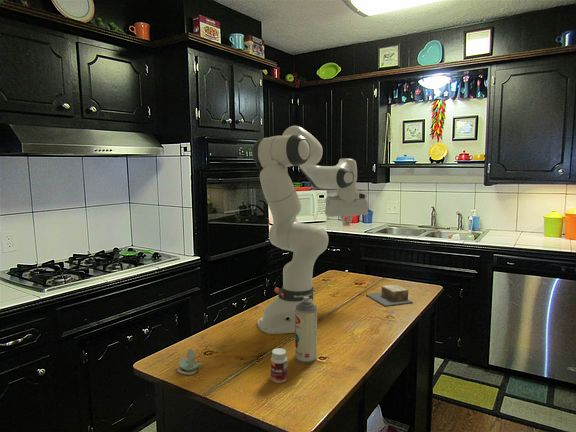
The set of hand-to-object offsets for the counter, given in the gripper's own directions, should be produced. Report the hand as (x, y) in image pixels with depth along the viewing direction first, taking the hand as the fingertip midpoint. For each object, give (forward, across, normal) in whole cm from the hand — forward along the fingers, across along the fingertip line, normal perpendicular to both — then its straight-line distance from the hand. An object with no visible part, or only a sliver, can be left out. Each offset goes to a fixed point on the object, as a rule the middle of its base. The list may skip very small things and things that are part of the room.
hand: (346, 225), depth 187 cm
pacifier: (+33, -76, -45) cm, 94 cm away
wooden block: (+30, +16, -10) cm, 36 cm away
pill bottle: (+33, -52, -59) cm, 85 cm away
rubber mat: (+33, +17, -10) cm, 38 cm away
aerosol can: (+33, -40, -50) cm, 72 cm away
